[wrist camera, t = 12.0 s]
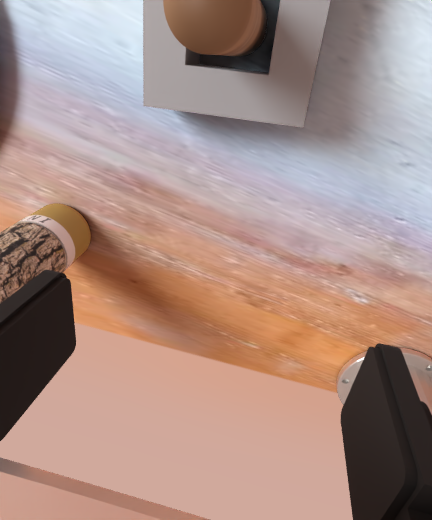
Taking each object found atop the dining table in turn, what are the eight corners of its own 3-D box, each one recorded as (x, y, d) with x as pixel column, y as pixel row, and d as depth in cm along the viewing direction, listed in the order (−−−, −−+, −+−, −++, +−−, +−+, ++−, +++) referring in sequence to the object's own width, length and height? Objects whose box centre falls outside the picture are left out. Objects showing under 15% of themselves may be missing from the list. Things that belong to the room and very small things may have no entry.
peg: (271, -5, 28) (258, -53, 16) (262, 59, 30) (244, 59, 18) (217, -10, 28) (164, -61, 16) (212, 53, 31) (162, 49, 19)
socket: (341, -75, 25) (352, -102, 21) (301, 118, 32) (303, 127, 28) (166, -88, 27) (142, -116, 22) (162, 99, 33) (143, 106, 29)
